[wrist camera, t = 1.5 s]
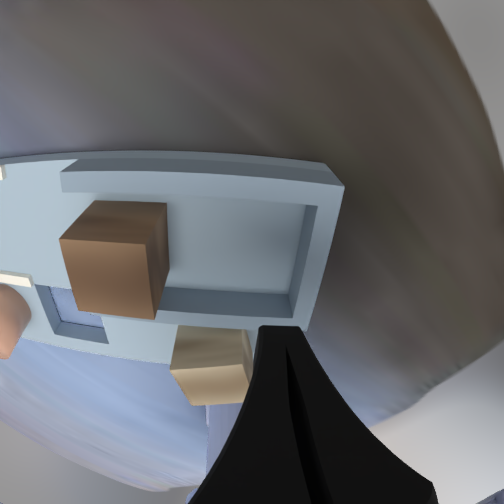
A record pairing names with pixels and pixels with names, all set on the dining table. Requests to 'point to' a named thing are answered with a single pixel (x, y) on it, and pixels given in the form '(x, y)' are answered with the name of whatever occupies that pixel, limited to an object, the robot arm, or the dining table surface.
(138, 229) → the walnut block
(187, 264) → the slate board with cubby
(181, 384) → the beech block
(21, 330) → the peach rounded cylinder
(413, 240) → the dining table surface
